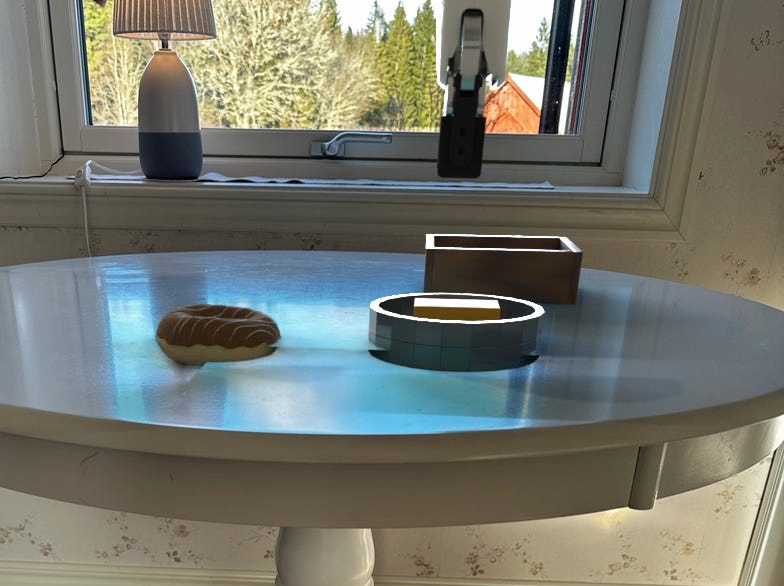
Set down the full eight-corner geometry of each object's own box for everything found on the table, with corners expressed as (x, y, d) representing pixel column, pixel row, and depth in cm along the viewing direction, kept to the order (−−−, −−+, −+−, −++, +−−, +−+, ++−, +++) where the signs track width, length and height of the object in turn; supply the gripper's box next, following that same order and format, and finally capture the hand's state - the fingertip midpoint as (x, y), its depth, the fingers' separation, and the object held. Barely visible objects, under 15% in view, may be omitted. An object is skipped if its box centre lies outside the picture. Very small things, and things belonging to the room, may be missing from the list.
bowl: (529, 346, 88) (535, 295, 86) (545, 384, 75) (553, 325, 73) (372, 341, 89) (375, 290, 87) (363, 378, 77) (365, 319, 74)
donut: (152, 347, 86) (149, 301, 84) (268, 343, 88) (267, 298, 86) (162, 375, 77) (159, 323, 75) (291, 370, 79) (291, 319, 77)
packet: (492, 348, 83) (497, 300, 81) (495, 358, 80) (500, 308, 78) (412, 345, 84) (415, 297, 82) (411, 355, 80) (414, 305, 78)
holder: (558, 300, 110) (566, 237, 107) (573, 322, 98) (583, 251, 95) (422, 296, 112) (426, 234, 109) (421, 317, 100) (426, 248, 97)
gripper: (547, -124, 59) (513, 182, 67) (524, -74, 74) (498, 171, 82) (425, -124, 60) (406, 179, 68) (427, -75, 75) (411, 168, 83)
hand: (457, 174), depth 75 cm, fingers open, 9 cm apart
